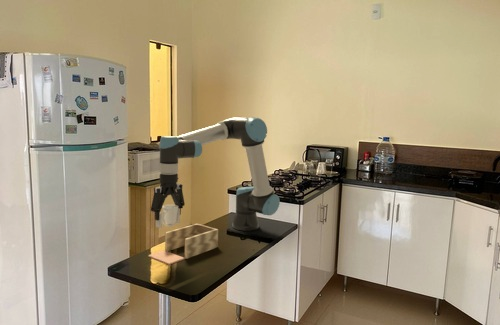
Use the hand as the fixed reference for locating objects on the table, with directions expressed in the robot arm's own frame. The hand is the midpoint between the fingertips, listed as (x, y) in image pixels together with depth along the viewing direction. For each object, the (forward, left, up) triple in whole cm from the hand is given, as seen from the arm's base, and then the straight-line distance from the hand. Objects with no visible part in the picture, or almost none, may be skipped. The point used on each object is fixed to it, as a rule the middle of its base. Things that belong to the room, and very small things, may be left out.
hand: (168, 224), depth 164 cm
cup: (0, 0, 0) cm, 0 cm away
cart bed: (-15, 0, -16) cm, 22 cm away
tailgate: (-4, 0, -15) cm, 15 cm away
